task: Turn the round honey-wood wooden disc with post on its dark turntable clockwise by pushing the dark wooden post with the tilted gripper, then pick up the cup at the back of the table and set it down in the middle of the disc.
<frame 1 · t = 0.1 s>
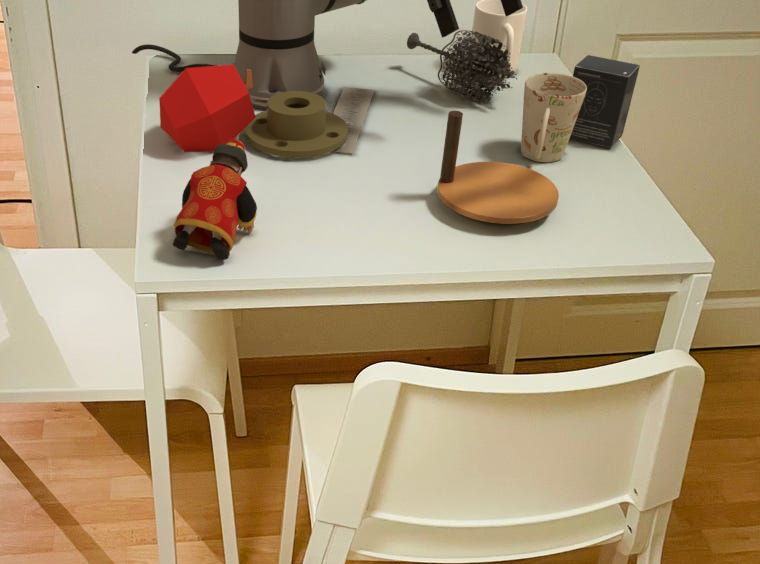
hand: (483, 22, 131), 15 cm above the table, tool tilted 35°, fingers open, 13 cm apart
box: (590, 138, 140), on the table
massage brush: (452, 36, 145), point 9 cm above the table
red faceted polyhedron: (159, 127, 134), point 3 cm above the table
nameplate: (365, 120, 143), on the table, touching flange
wooden disc with post: (503, 158, 120), point 7 cm above the table, hinge at 0.0°
figurine: (200, 254, 113), point 1 cm above the table
turntable base: (495, 205, 124), on the table
cup: (494, 75, 157), on the table
flange: (346, 128, 134), point 3 cm above the table, touching nameplate
mug: (540, 160, 134), on the table
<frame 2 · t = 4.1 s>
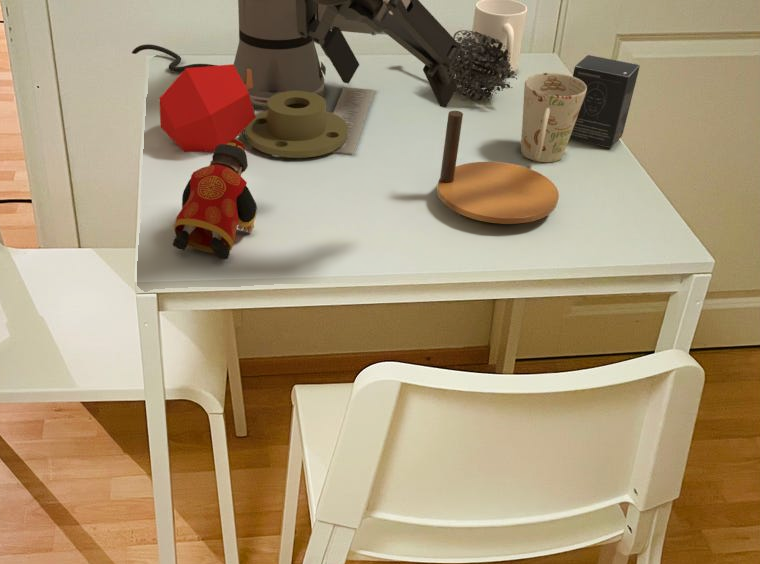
hand: (398, 85, 108), 18 cm above the table, tool tilted 40°, fingers open, 13 cm apart
nothing on the table moved.
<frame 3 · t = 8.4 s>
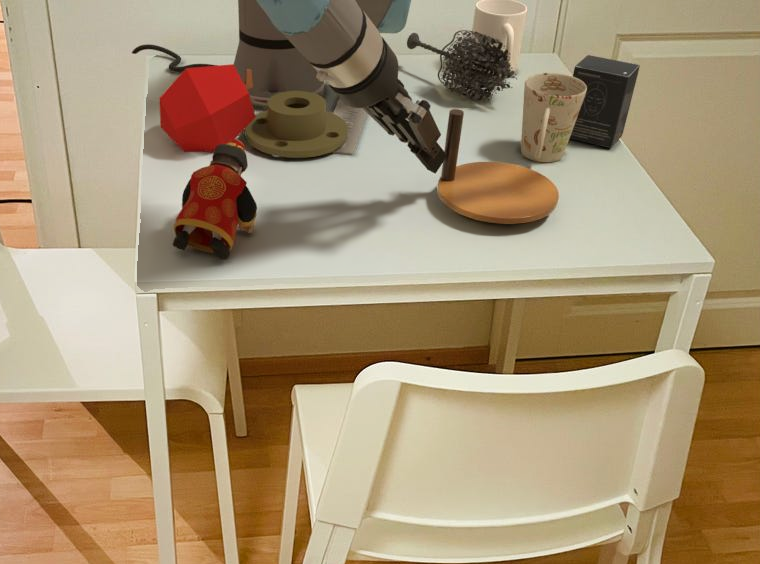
hand: (437, 162, 122), 5 cm above the table, tool tilted 45°, fingers closed
wooden disc with post: (503, 158, 120), point 7 cm above the table, hinge at -4.2°, touching gripper
everything else where it was.
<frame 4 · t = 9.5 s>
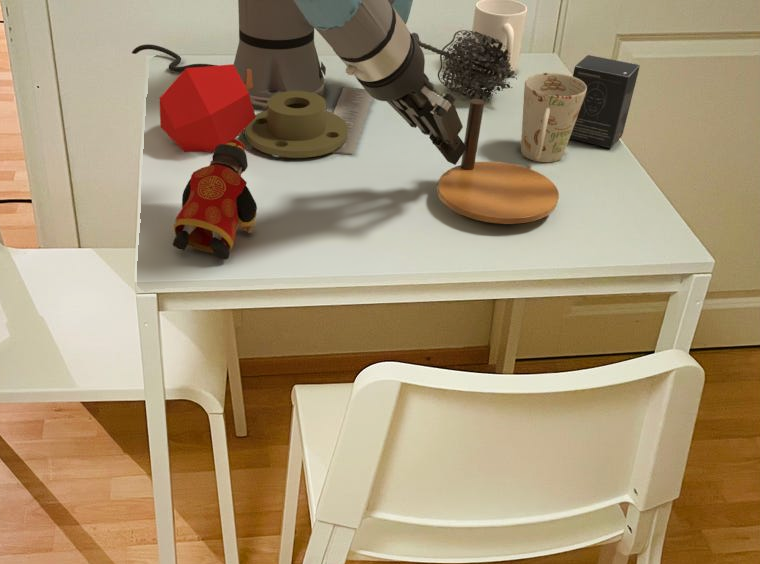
hand: (457, 154, 124), 5 cm above the table, tool tilted 45°, fingers closed
wooden disc with post: (503, 158, 120), point 7 cm above the table, hinge at -43.2°, touching gripper
everything else where it was.
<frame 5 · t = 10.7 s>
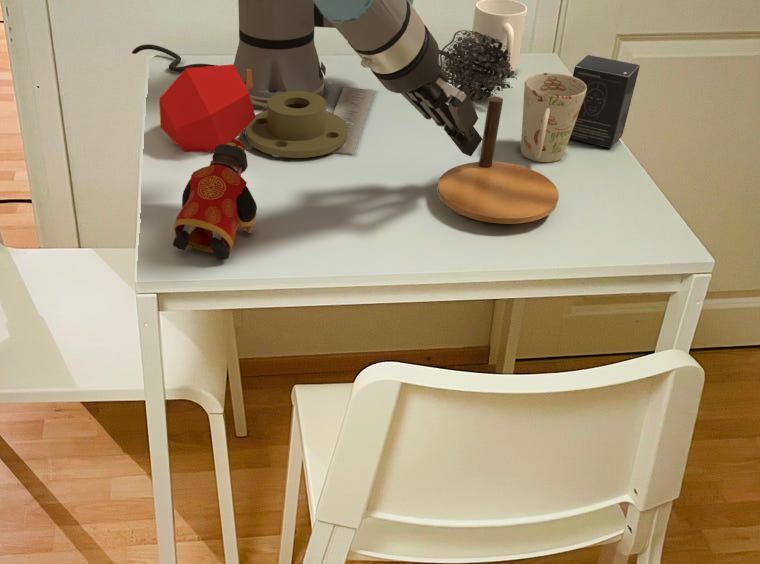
hand: (472, 145, 125), 5 cm above the table, tool tilted 45°, fingers closed
wooden disc with post: (503, 158, 120), point 7 cm above the table, hinge at -65.6°
everything else where it was.
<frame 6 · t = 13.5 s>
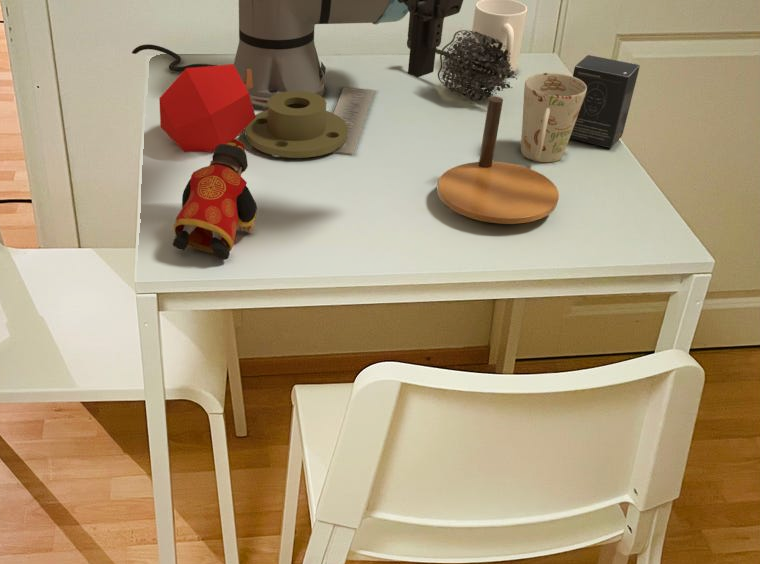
hand: (420, 72, 110), 18 cm above the table, tool pointing down, fingers closed
nothing on the table moved.
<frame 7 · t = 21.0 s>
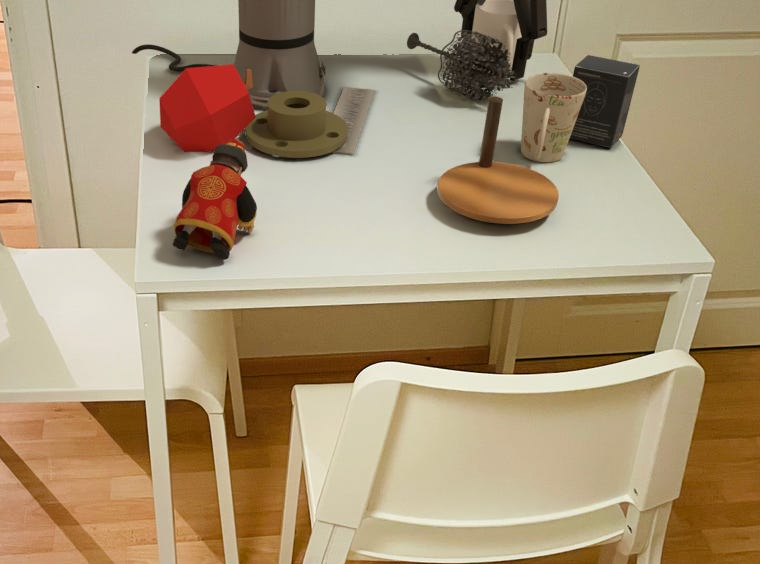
hand: (491, 68, 157), 1 cm above the table, tool pointing down, fingers closed on cup, 10 cm apart
cup: (494, 75, 157), on the table, touching gripper
everything else where it was.
when the fingers open (3 cm above the table, at t = 32.2 s): cup stays where it is, resting on wooden disc with post.
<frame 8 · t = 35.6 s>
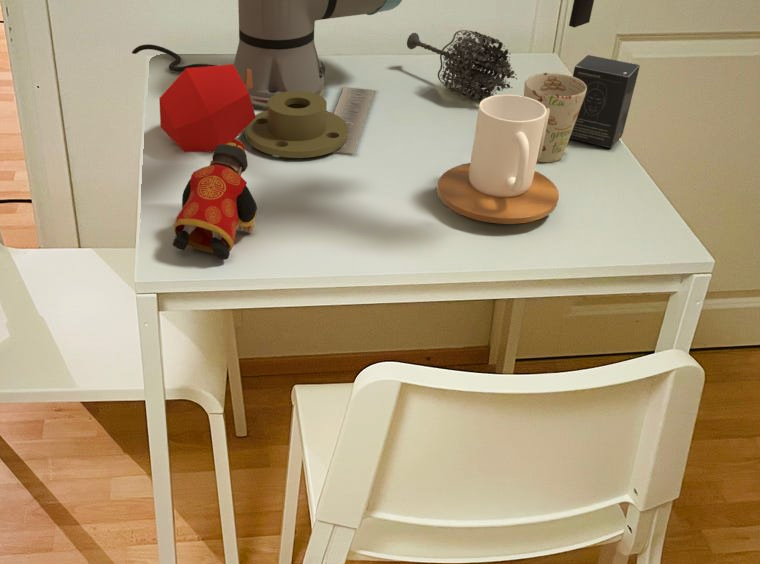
hand: (529, 8, 107), 25 cm above the table, tool pointing down, fingers open, 13 cm apart
wooden disc with post: (503, 158, 120), point 7 cm above the table, hinge at -65.7°, touching cup
cup: (502, 191, 122), point 2 cm above the table, touching wooden disc with post
everything else where it was.
at the end: wooden disc with post at -66° (first picture: +0°); cup 0.7 cm off-centre on the wooden disc with post, point 2.2 cm above the wooden disc with post's base; the gripper is holding nothing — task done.
